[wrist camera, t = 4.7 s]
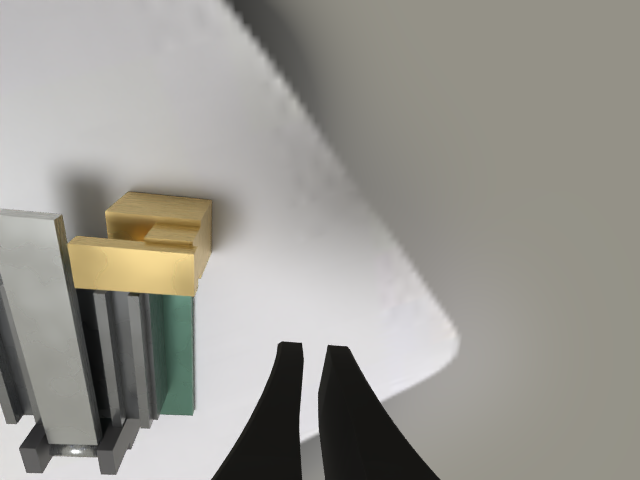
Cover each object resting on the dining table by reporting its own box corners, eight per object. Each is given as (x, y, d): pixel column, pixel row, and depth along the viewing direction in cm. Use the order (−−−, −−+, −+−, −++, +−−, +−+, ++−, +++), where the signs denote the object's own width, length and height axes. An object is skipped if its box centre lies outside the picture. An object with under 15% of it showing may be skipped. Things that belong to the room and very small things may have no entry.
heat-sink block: (-33, 240, 19) (-85, 271, 17) (192, 259, 21) (177, 290, 18) (15, 403, 24) (-20, 447, 22) (193, 410, 26) (182, 452, 23)
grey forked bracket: (64, 382, 24) (18, 448, 20) (141, 386, 24) (112, 450, 20) (70, 413, 25) (29, 480, 21) (144, 415, 25) (117, 482, 22)
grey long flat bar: (-3, 206, 15) (-21, 216, 14) (64, 212, 16) (50, 222, 15) (59, 443, 22) (50, 460, 21) (106, 444, 22) (98, 461, 21)
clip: (117, 190, 19) (65, 231, 14) (215, 200, 19) (193, 243, 15) (122, 245, 20) (76, 298, 16) (214, 253, 21) (194, 306, 16)
